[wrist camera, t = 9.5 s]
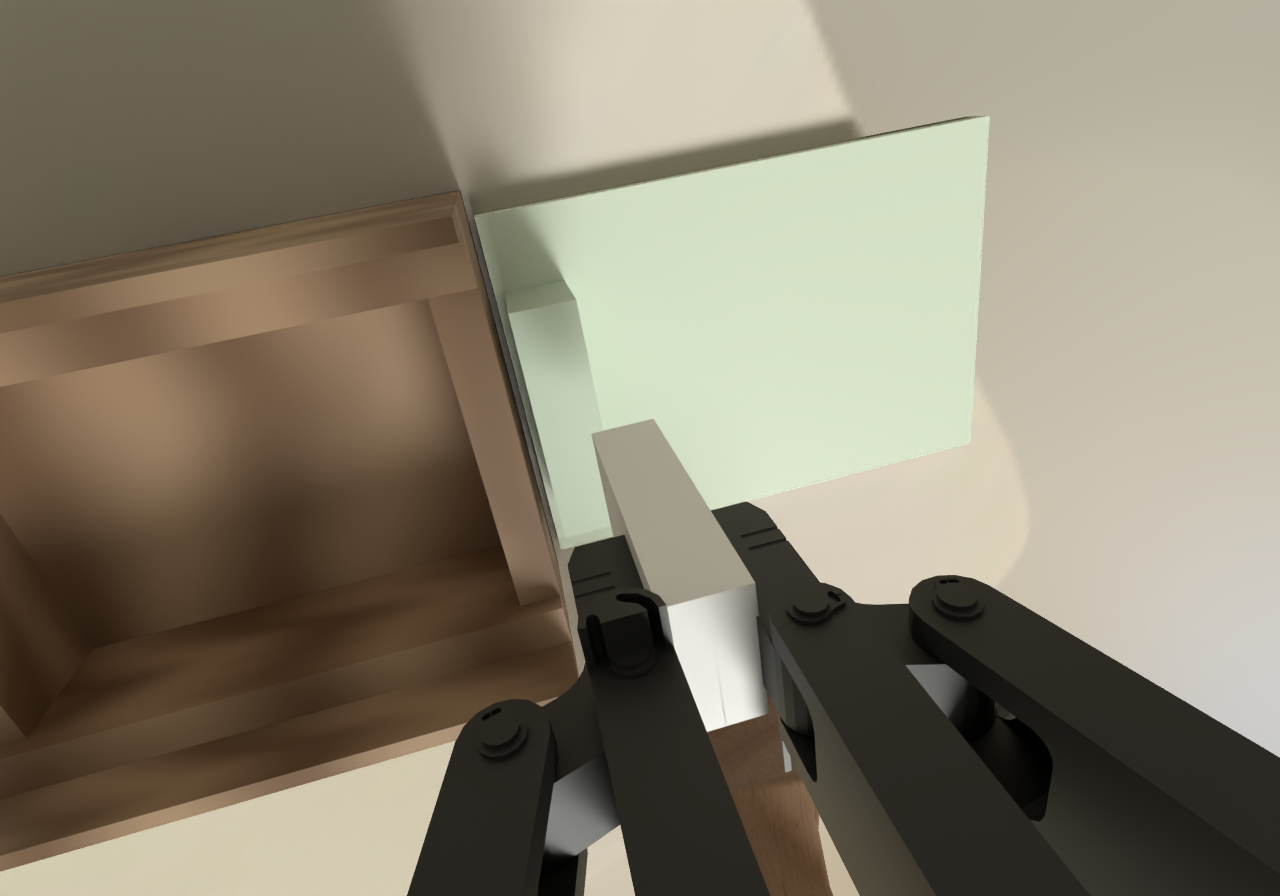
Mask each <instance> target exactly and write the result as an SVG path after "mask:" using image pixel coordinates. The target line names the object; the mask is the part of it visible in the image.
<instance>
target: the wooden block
mask: <svg viewBox="0 0 1280 896" xmlns="http://www.w3.org/2000/svg"><path fill="white" fill-rule="evenodd" d="M767 699H768V709H769V714H766V715H762V716H759V717H756V718H752V719H749V720H746V721H742V722H739V723H736V724H732V725H729V726H725V727H722V728H719V729H715V730H712V731H709V732H707V733H708V736H709V739H710V741H711V744H712V746H713V749H714V751H715V754H716V757H717V759H718V762H719V764H720V767H721V770H722V772H723V775H724V777H725V780H726V782H727V785H728V788H729V790H730V793H731V795H732V798H733V800H734V803H735V806H736V808H737V811H738V813H739V816H740V819H741V821H742V824H743V826H744V829H745V831H746V834H747V837H748V839H749V842H750V844H751V847H752V849H753V852H754V855H755V857H756V860H757V862H758V865H759V868H760V870H761V873H762V875H763V878H764V880H765V883H766V886H767V888H768V891H769V893H770V896H833V894H832V891H831V888H830V885H829V880H828V875H827V871H826V865H825V861H824V856H823V851H822V846H821V841H820V836H819V831H818V825H819V813H818V811H817V809H816V807H815V805H814V803H813V801H812V799H811V797H810V795H809V793H808V791H807V789H806V787H805V785H804V783H803V781H802V779H801V777H800V775H799V773H798V771H797V769H796V767H795V765H794V763H793V761H792V759H791V768H792V771H789V772H786V773H785V769H784V765H783V761H782V752H781V741H780V731H779V721H778V712H777V710H776V708H775V706H774V704H773V702H772V700H771V698H770V696H769V694H767Z"/></svg>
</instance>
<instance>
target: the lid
mask: <svg viewBox="0 0 1280 896" xmlns="http://www.w3.org/2000/svg"><path fill="white" fill-rule="evenodd" d="M989 120H990V116H971V117H962V118H956V119H951V120H946V121H941V122H936V123H931V124H926V125H921V126H916V127H911V128H905V129H900V130H896V131H890V132H885V133H880V134H875V135H870V136H865V137H862V138H863V139H858V140H853V141H848V142H843V143H838V144H833V145H827V146H822V147H817V148H812V149H807V150H802V151H797V152H792V153H787V154H782V155H777V156H772V157H766V158H761V159H756V160H751V161H746V162H741V163H736V164H731V165H726V166H721V167H716V168H711V169H705V170H700V171H695V172H690V173H685V174H680V175H675V176H670V177H665V178H660V179H655V180H650V181H644V182H639V183H634V184H629V185H624V186H619V187H614V188H609V189H604V190H599V191H594V192H589V193H584V194H578V195H573V196H568V197H563V198H558V199H553V200H548V201H543V202H538V203H533V204H528V205H523V206H517V207H512V208H507V209H502V210H497V211H492V212H487V213H482V214H477V215H474V218H475V222H476V226H477V230H478V233H479V237H480V241H481V245H482V249H483V253H484V256H485V260H486V264H487V268H488V272H489V276H490V279H491V283H492V287H493V291H494V295H495V299H496V302H497V306H498V310H499V314H500V318H501V322H502V325H503V329H504V333H505V337H506V341H507V345H508V348H509V352H510V356H511V360H512V364H513V368H514V371H515V375H516V379H517V383H518V387H519V391H520V394H521V398H522V402H523V406H524V410H525V414H526V417H527V421H528V425H529V429H530V433H531V437H532V440H533V444H534V448H535V452H536V456H537V460H538V463H539V467H540V471H541V475H542V479H543V483H544V486H545V490H546V494H547V498H548V502H549V506H550V509H551V513H552V517H553V521H554V525H555V529H556V532H557V536H558V540H559V544H560V548H561V550H564V549H567V548H571V547H575V546H579V545H583V544H587V543H590V542H594V541H598V540H602V539H606V538H610V537H613V536H614V535H613V532H612V528H611V524H610V519H609V514H608V510H607V505H606V500H605V496H604V491H603V486H602V482H601V477H600V472H599V467H598V463H597V458H596V453H595V449H594V444H593V439H592V435H591V433H596V432H600V431H604V430H608V429H612V428H617V427H621V426H625V425H629V424H633V423H638V422H642V421H646V420H650V419H654V420H655V422H656V423H657V425H658V427H659V428H660V430H661V431H662V433H663V435H664V436H665V438H666V440H667V441H668V443H669V444H670V446H671V448H672V449H673V451H674V452H675V454H676V456H677V457H678V459H679V460H680V462H681V464H682V465H683V467H684V469H685V470H686V472H687V473H688V475H689V477H690V478H691V480H692V481H693V483H694V485H695V486H696V488H697V489H698V491H699V493H700V494H701V496H702V498H703V499H704V501H705V502H706V504H707V506H708V507H709V509H710V510H714V509H718V508H722V507H726V506H730V505H734V504H738V503H741V502H745V501H747V502H748V501H751V500H755V499H759V498H763V497H767V496H771V495H774V494H778V493H782V492H786V491H790V490H794V489H797V488H801V487H805V486H809V485H813V484H817V483H820V482H824V481H828V480H832V479H836V478H840V477H843V476H847V475H851V474H855V473H859V472H863V471H866V470H870V469H874V468H878V467H882V466H886V465H889V464H893V463H897V462H901V461H905V460H909V459H912V458H916V457H920V456H924V455H928V454H932V453H935V452H939V451H943V450H947V449H951V448H955V447H958V446H962V445H966V444H970V443H971V426H972V409H973V392H974V375H975V358H976V341H977V323H978V307H979V289H980V273H981V256H982V239H983V222H984V205H985V188H986V170H987V154H988V136H989Z"/></svg>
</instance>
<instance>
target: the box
mask: <svg viewBox="0 0 1280 896" xmlns="http://www.w3.org/2000/svg"><path fill="white" fill-rule="evenodd" d="M578 678H579V673H578V668H577V663H576V657H575V652H574V647H573V641H572V636H571V631H570V625H569V620H568V614H567V609H566V604H565V598H564V593H563V588H562V582H561V577H560V572H559V566H558V561H557V557H556V554H555V550H554V546H553V542H552V538H551V535H550V531H549V527H548V523H547V519H546V516H545V512H544V508H543V504H542V500H541V496H540V493H539V489H538V485H537V481H536V477H535V474H534V470H533V466H532V462H531V458H530V455H529V451H528V447H527V443H526V439H525V435H524V432H523V428H522V424H521V420H520V416H519V413H518V409H517V405H516V401H515V397H514V394H513V390H512V386H511V382H510V378H509V374H508V371H507V367H506V363H505V359H504V355H503V352H502V348H501V344H500V340H499V336H498V332H497V329H496V325H495V321H494V317H493V313H492V310H491V306H490V302H489V298H488V294H487V291H486V287H485V283H484V279H483V275H482V271H481V268H480V264H479V260H478V256H477V252H476V249H475V245H474V241H473V237H472V233H471V230H470V226H469V222H468V218H467V214H466V210H465V207H464V203H463V199H462V195H461V191H460V190H459V191H454V192H449V193H443V194H438V195H433V196H427V197H422V198H417V199H412V200H406V201H401V202H396V203H390V204H385V205H380V206H374V207H369V208H364V209H358V210H353V211H348V212H342V213H337V214H332V215H327V216H321V217H316V218H311V219H305V220H300V221H295V222H289V223H284V224H279V225H273V226H268V227H263V228H258V229H252V230H247V231H242V232H236V233H231V234H226V235H220V236H215V237H210V238H204V239H199V240H194V241H188V242H183V243H178V244H173V245H167V246H162V247H157V248H151V249H146V250H141V251H135V252H130V253H125V254H119V255H114V256H109V257H104V258H98V259H93V260H88V261H82V262H77V263H72V264H66V265H61V266H56V267H50V268H45V269H40V270H34V271H29V272H24V273H19V274H13V275H8V276H3V277H0V871H4V870H7V869H11V868H14V867H18V866H21V865H25V864H28V863H32V862H35V861H39V860H42V859H46V858H49V857H52V856H56V855H59V854H63V853H66V852H70V851H73V850H77V849H80V848H84V847H87V846H91V845H94V844H98V843H101V842H105V841H108V840H112V839H115V838H118V837H122V836H125V835H129V834H132V833H136V832H139V831H143V830H146V829H150V828H153V827H157V826H160V825H164V824H167V823H171V822H174V821H178V820H181V819H185V818H188V817H191V816H195V815H198V814H202V813H205V812H209V811H212V810H216V809H219V808H223V807H226V806H230V805H233V804H237V803H240V802H244V801H247V800H251V799H254V798H257V797H261V796H264V795H268V794H271V793H275V792H278V791H282V790H285V789H289V788H292V787H296V786H299V785H303V784H306V783H310V782H313V781H317V780H320V779H323V778H327V777H330V776H334V775H337V774H341V773H344V772H348V771H351V770H355V769H358V768H362V767H365V766H369V765H372V764H376V763H379V762H383V761H386V760H389V759H393V758H396V757H400V756H403V755H407V754H410V753H414V752H417V751H421V750H424V749H428V748H431V747H435V746H438V745H442V744H445V743H449V742H452V741H456V740H457V738H458V736H459V734H460V732H461V730H462V728H463V727H464V725H465V724H466V723H467V722H468V721H469V720H470V719H471V718H472V717H473V716H474V715H475V714H476V713H478V712H479V711H481V710H483V709H485V708H486V707H488V706H490V705H492V704H494V703H497V702H501V701H505V700H509V699H523V700H529V701H531V702H534V703H536V704H538V705H540V706H541V707H543V706H544V705H546V704H548V703H549V702H551V701H553V700H555V699H556V698H558V697H559V696H561V695H562V694H563V693H565V692H566V691H568V690H569V689H570V688H571V687H572V686H573V685H574V684H575V683H576V681H577V680H578Z"/></svg>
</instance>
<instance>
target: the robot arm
mask: <svg viewBox="0 0 1280 896" xmlns="http://www.w3.org/2000/svg"><path fill="white" fill-rule="evenodd" d="M591 435H592V439H593V444H594V449H595V453H596V458H597V463H598V467H599V472H600V477H601V482H602V486H603V491H604V496H605V500H606V505H607V510H608V514H609V519H610V524H611V528H612V532H613V535H614V537H613V538H609V539H605V540H601V541H597V542H594V543H590V544H586V545H582V546H578V547H575V548H574V551H573V553H572V556H571V558H570V561H569V563H568V569H569V574H570V579H571V583H572V588H573V593H574V598H575V603H576V607H577V612H578V617H579V618H578V629H577V630H578V634H579V638H580V641H581V645H582V649H583V653H584V657H585V661H586V663H585V666H584V670H583V672H582V674H581V675H580V677H579V678H578V680H577V681H576V683H575V684H574V685H573V686H572V687H571V688H570V689H569V690H568V691H566V692H565V693H563V694H562V695H561V696H559V697H558V698H556V699H555V700H553V701H551V702H549V703H548V704H546V705H544V706H543V707H541V706H540V705H538V704H536V703H534V702H531V701H529V700H523V699H509V700H505V701H501V702H497V703H494V704H492V705H490V706H488V707H486V708H485V709H483V710H481V711H479V712H478V713H476V714H475V715H474V716H473V717H472V718H471V719H470V720H469V721H468V722H467V723H466V724H465V725H464V727H463V728H462V730H461V732H460V734H459V736H458V738H457V740H456V742H455V745H454V748H453V751H452V754H451V758H450V761H449V764H448V767H447V770H446V773H445V777H444V780H443V783H442V786H441V789H440V793H439V796H438V799H437V802H436V805H435V808H434V812H433V815H432V818H431V821H430V824H429V828H428V831H427V834H426V837H425V840H424V843H423V847H422V850H421V853H420V856H419V859H418V863H417V866H416V869H415V872H414V875H413V878H412V882H411V885H410V888H409V891H408V894H407V896H584V887H585V876H586V865H587V854H588V852H587V847H589V846H590V845H591V844H593V843H594V842H596V841H597V840H599V839H600V838H601V837H603V836H604V835H606V834H607V833H609V832H610V831H611V830H613V829H614V828H616V827H617V826H619V825H621V829H622V834H623V839H624V844H625V848H626V853H627V858H628V863H629V868H630V872H631V877H632V882H633V887H634V891H635V896H770V893H769V891H768V888H767V886H766V883H765V880H764V878H763V875H762V873H761V870H760V868H759V865H758V862H757V860H756V857H755V855H754V852H753V849H752V847H751V844H750V842H749V839H748V837H747V834H746V831H745V829H744V826H743V824H742V821H741V819H740V816H739V813H738V811H737V808H736V806H735V803H734V800H733V798H732V795H731V793H730V790H729V788H728V785H727V782H726V780H725V777H724V775H723V772H722V770H721V767H720V764H719V762H718V759H717V757H716V754H715V751H714V749H713V746H712V744H711V741H710V739H709V736H708V733H707V732H709V731H712V730H715V729H719V728H722V727H725V726H729V725H732V724H736V723H739V722H742V721H746V720H749V719H752V718H756V717H759V716H762V715H766V714H769V709H768V699H767V692H768V694H769V696H770V698H771V700H772V702H773V704H774V706H775V708H776V710H777V712H778V721H779V731H780V741H781V752H782V761H783V765H784V769H785V773H786V772H789V771H792V768H791V759H792V761H793V763H794V765H795V767H796V769H797V771H798V773H799V775H800V777H801V779H802V781H803V783H804V785H805V787H806V789H807V791H808V793H809V795H810V797H811V799H812V801H813V803H814V805H815V807H816V809H817V811H818V813H819V815H820V817H821V819H822V821H823V823H824V825H825V827H826V829H827V831H828V833H829V835H830V837H831V839H832V841H833V843H834V845H835V847H836V849H837V851H838V853H839V855H840V857H841V859H842V861H843V863H844V865H845V867H846V869H847V871H848V873H849V875H850V877H851V879H852V881H853V883H854V885H855V887H856V889H857V891H858V893H859V895H860V896H1280V758H1279V757H1277V756H1276V755H1274V754H1273V753H1271V752H1269V751H1268V750H1266V749H1264V748H1262V747H1261V746H1259V745H1257V744H1256V743H1254V742H1252V741H1251V740H1249V739H1247V738H1246V737H1244V736H1242V735H1240V734H1239V733H1237V732H1235V731H1234V730H1232V729H1230V728H1229V727H1227V726H1225V725H1223V724H1222V723H1220V722H1218V721H1217V720H1215V719H1213V718H1212V717H1210V716H1208V715H1207V714H1205V713H1203V712H1202V711H1200V710H1198V709H1197V708H1195V707H1193V706H1191V705H1190V704H1188V703H1187V702H1185V701H1183V700H1181V699H1180V698H1178V697H1176V696H1175V695H1173V694H1171V693H1170V692H1168V691H1166V690H1165V689H1163V688H1161V687H1159V686H1158V685H1156V684H1154V683H1153V682H1151V681H1149V680H1148V679H1146V678H1144V677H1143V676H1141V675H1139V674H1138V673H1136V672H1134V671H1132V670H1130V669H1129V668H1127V667H1126V666H1124V665H1122V664H1121V663H1119V662H1117V661H1116V660H1114V659H1112V658H1111V657H1109V656H1107V655H1105V654H1104V653H1102V652H1100V651H1099V650H1097V649H1095V648H1094V647H1092V646H1090V645H1089V644H1087V643H1085V642H1084V641H1082V640H1080V639H1079V638H1077V637H1075V636H1073V635H1072V634H1070V633H1068V632H1067V631H1065V630H1063V629H1062V628H1060V627H1058V626H1057V625H1055V624H1053V623H1051V622H1050V621H1048V620H1047V619H1045V618H1043V617H1041V616H1040V615H1038V614H1036V613H1035V612H1033V611H1031V610H1030V609H1028V608H1026V607H1025V606H1023V605H1021V604H1020V603H1018V602H1016V601H1014V600H1013V599H1011V598H1009V597H1008V596H1006V595H1004V594H1002V593H1001V592H999V591H998V590H996V589H994V588H993V587H991V586H989V585H987V584H984V583H982V582H980V581H977V580H975V579H973V578H968V577H962V576H957V575H944V576H935V577H932V578H928V579H925V580H922V581H921V582H920V583H918V584H917V585H916V586H915V587H914V588H912V591H911V594H910V597H909V604H886V605H870V604H860V603H855V602H854V601H853V599H852V598H851V597H850V596H849V595H847V594H846V593H845V592H844V591H842V590H841V589H839V588H837V587H834V586H832V585H829V584H826V583H820V582H819V581H818V579H817V578H816V577H815V575H814V574H813V573H812V571H811V570H810V569H809V567H808V566H807V565H806V564H805V562H804V561H803V560H802V558H801V557H800V556H799V554H798V553H797V552H796V550H795V549H794V548H793V547H792V545H791V544H790V543H789V541H786V537H785V536H784V535H783V534H782V532H781V531H780V530H779V529H777V526H776V524H775V523H774V522H773V520H772V519H771V518H770V517H769V515H768V514H767V513H766V511H764V510H762V509H760V508H758V507H756V506H754V505H752V504H750V503H748V502H747V501H745V502H741V503H738V504H734V505H730V506H726V507H722V508H718V509H714V510H710V509H709V507H708V506H707V504H706V502H705V501H704V499H703V498H702V496H701V494H700V493H699V491H698V489H697V488H696V486H695V485H694V483H693V481H692V480H691V478H690V477H689V475H688V473H687V472H686V470H685V469H684V467H683V465H682V464H681V462H680V460H679V459H678V457H677V456H676V454H675V452H674V451H673V449H672V448H671V446H670V444H669V443H668V441H667V440H666V438H665V436H664V435H663V433H662V431H661V430H660V428H659V427H658V425H657V423H656V422H655V420H654V419H650V420H646V421H642V422H638V423H633V424H629V425H625V426H621V427H617V428H612V429H608V430H604V431H600V432H596V433H591Z"/></svg>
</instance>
